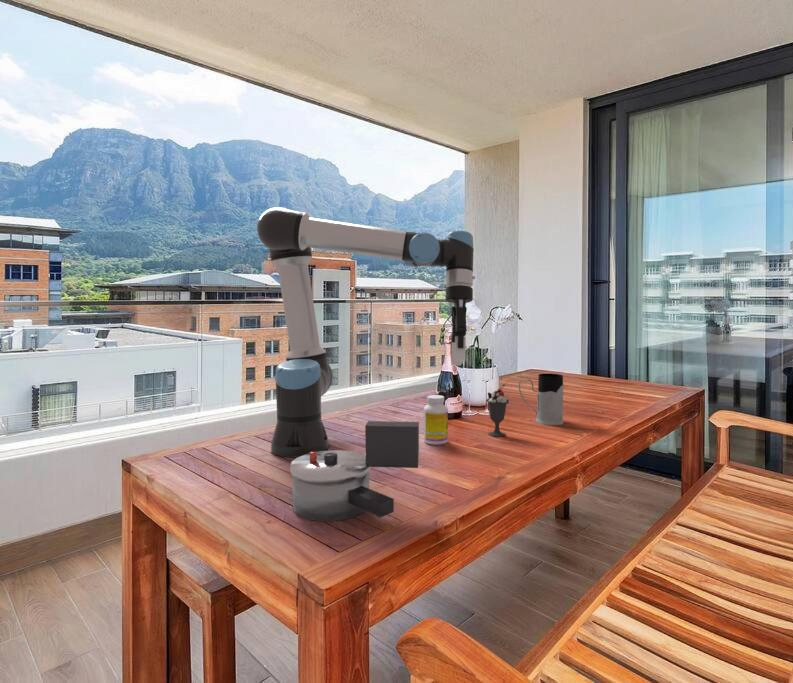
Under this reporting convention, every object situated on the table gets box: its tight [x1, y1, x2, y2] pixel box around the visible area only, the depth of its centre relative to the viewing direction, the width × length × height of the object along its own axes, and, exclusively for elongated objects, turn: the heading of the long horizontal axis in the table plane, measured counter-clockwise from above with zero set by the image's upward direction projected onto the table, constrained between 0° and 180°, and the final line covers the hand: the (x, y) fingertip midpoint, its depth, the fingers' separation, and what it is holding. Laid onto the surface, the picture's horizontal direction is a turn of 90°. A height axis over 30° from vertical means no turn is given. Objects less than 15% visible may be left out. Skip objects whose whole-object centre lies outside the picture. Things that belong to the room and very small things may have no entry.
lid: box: [289, 420, 420, 484], centre depth 99 cm, size 25×16×9 cm, turn 84°
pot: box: [291, 471, 395, 522], centre depth 98 cm, size 26×15×7 cm, turn 44°
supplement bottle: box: [423, 394, 449, 446], centre depth 141 cm, size 7×7×13 cm
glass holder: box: [518, 373, 565, 426], centre depth 163 cm, size 9×14×15 cm, turn 70°
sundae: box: [485, 384, 510, 438], centre depth 148 cm, size 7×7×15 cm
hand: (457, 363), depth 139 cm, fingers open, 13 cm apart
